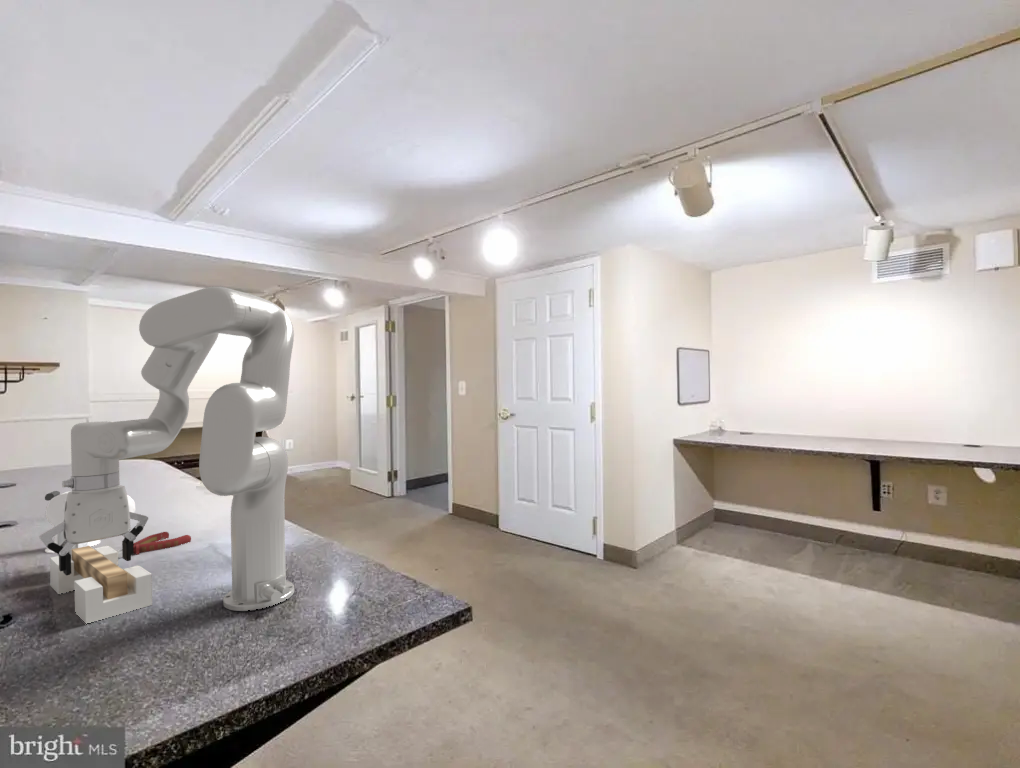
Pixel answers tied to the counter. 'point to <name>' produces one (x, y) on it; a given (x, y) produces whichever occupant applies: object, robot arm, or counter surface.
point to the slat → (100, 571)
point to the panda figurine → (58, 513)
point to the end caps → (91, 592)
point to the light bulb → (131, 504)
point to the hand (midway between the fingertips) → (98, 566)
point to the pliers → (156, 543)
